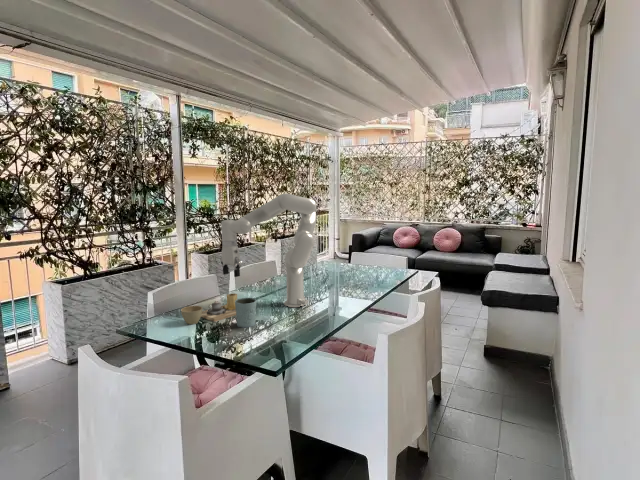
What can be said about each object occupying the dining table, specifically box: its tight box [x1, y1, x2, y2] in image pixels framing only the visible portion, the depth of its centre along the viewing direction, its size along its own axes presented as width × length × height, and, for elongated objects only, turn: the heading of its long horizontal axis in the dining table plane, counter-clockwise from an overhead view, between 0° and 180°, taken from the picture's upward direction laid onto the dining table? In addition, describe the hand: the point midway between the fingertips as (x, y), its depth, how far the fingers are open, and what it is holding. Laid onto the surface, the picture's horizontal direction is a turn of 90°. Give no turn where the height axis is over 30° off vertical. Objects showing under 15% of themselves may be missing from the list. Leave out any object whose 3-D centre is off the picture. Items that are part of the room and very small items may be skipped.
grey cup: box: [235, 297, 257, 329], centre depth 183 cm, size 10×10×12 cm
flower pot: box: [180, 305, 203, 325], centre depth 187 cm, size 10×10×7 cm
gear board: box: [200, 300, 236, 322], centre depth 202 cm, size 15×25×7 cm, turn 140°
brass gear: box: [222, 293, 238, 310], centre depth 204 cm, size 10×10×7 cm
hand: (231, 275), depth 203 cm, fingers open, 9 cm apart
